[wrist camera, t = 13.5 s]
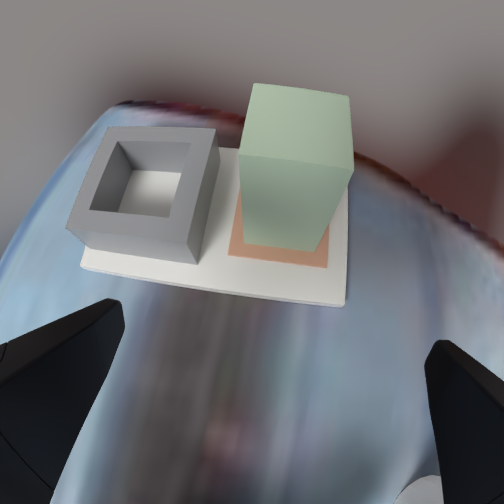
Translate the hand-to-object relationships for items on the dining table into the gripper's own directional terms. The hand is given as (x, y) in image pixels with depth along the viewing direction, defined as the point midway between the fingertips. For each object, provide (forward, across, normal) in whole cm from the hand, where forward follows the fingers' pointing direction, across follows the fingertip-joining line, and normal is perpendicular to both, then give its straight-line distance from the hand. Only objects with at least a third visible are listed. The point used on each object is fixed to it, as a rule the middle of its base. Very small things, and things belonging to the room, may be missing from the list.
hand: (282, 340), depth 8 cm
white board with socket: (+17, +5, +2) cm, 18 cm away
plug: (+16, 0, +2) cm, 16 cm away
